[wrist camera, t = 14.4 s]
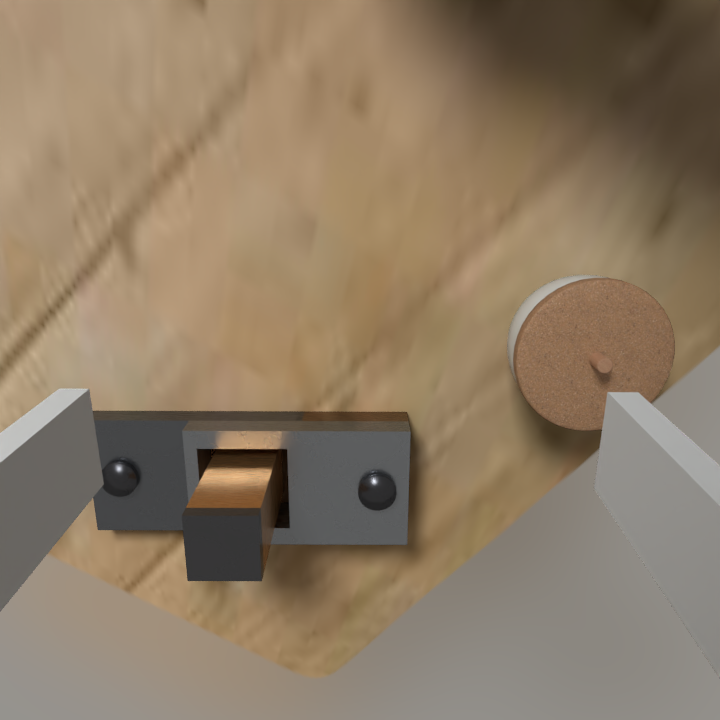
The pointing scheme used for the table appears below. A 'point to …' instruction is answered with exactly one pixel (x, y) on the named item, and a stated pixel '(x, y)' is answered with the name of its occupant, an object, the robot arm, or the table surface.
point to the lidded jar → (588, 347)
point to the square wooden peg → (233, 515)
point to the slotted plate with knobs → (261, 431)
